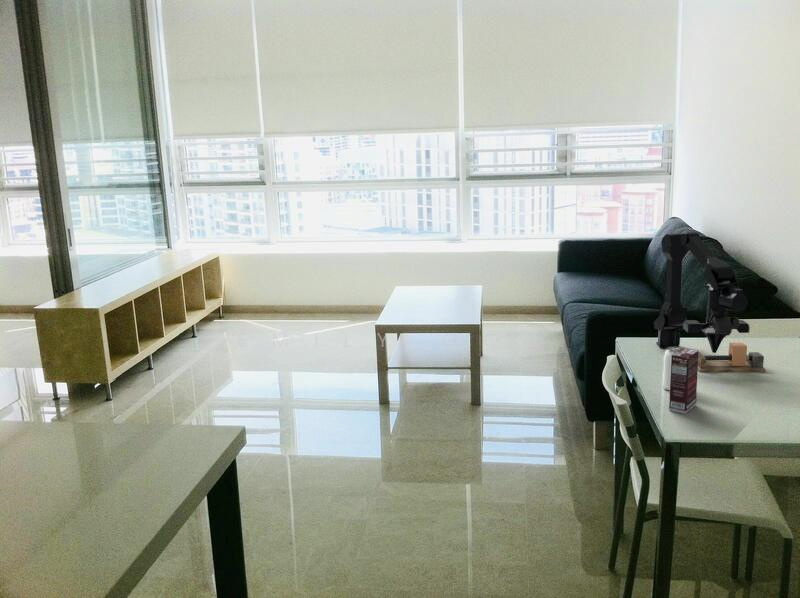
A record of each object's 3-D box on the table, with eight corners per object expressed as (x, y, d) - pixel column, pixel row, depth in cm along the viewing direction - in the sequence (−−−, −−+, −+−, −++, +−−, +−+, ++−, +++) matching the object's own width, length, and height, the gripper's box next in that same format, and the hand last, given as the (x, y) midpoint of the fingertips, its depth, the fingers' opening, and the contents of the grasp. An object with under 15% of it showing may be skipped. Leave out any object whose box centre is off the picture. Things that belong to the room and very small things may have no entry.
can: (682, 384, 224) (685, 346, 222) (688, 392, 218) (691, 352, 215) (660, 384, 225) (662, 346, 222) (665, 392, 219) (667, 352, 216)
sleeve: (732, 365, 236) (733, 346, 235) (727, 361, 240) (729, 342, 239) (745, 365, 236) (747, 346, 235) (740, 361, 240) (742, 342, 239)
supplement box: (678, 401, 211) (682, 347, 207) (696, 405, 208) (700, 350, 204) (667, 410, 204) (670, 354, 201) (685, 414, 201) (689, 357, 198)
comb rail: (699, 371, 235) (700, 358, 234) (690, 363, 244) (691, 350, 243) (765, 372, 233) (766, 358, 232) (754, 363, 242) (756, 350, 241)
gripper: (694, 311, 228) (691, 360, 231) (758, 310, 226) (754, 360, 230) (683, 302, 238) (681, 349, 242) (744, 302, 237) (740, 349, 240)
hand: (714, 352), depth 238 cm, fingers closed
